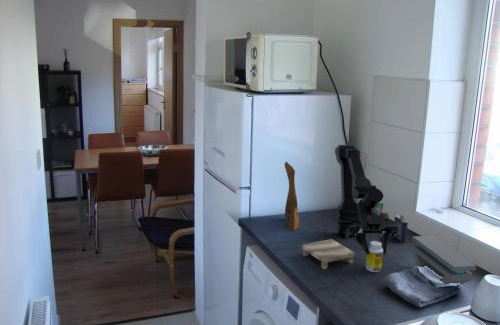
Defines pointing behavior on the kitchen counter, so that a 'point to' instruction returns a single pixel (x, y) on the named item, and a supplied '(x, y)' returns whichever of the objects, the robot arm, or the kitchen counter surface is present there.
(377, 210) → the canned tomato
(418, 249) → the sharpening stone
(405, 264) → the kitchen counter surface
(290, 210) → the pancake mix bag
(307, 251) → the beige wooden stand
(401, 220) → the flask
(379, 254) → the supplement bottle
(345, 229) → the robot arm
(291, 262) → the kitchen counter surface
